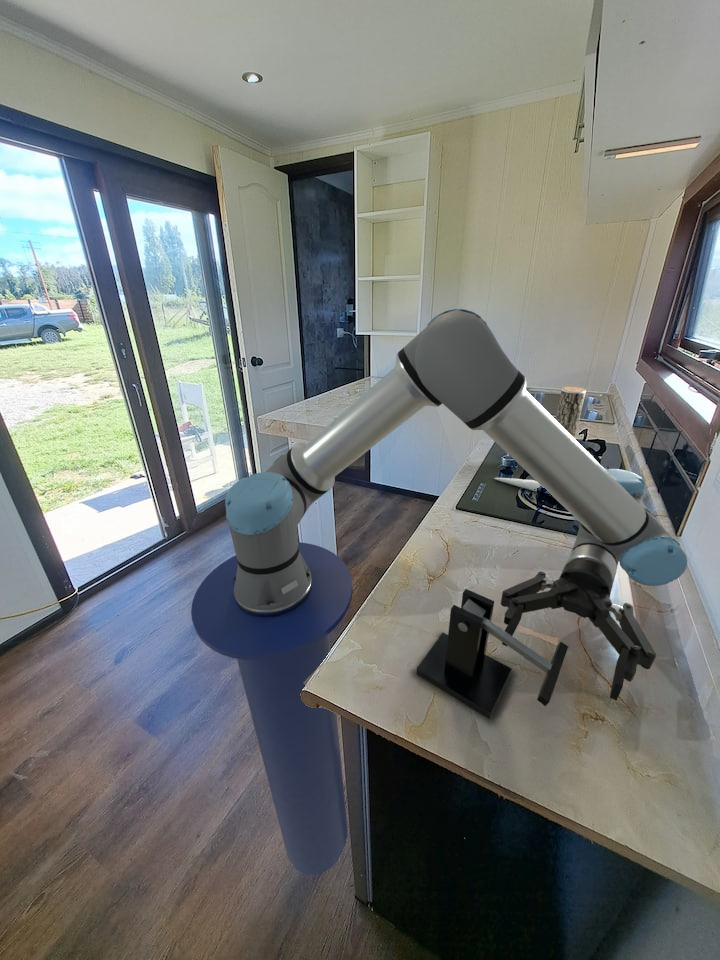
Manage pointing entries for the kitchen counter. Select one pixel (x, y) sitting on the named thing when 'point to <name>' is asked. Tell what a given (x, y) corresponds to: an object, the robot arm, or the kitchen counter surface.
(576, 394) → the brown bark cylinder
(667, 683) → the kitchen counter surface
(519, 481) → the unicorn horn
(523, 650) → the lever
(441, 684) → the bracket
